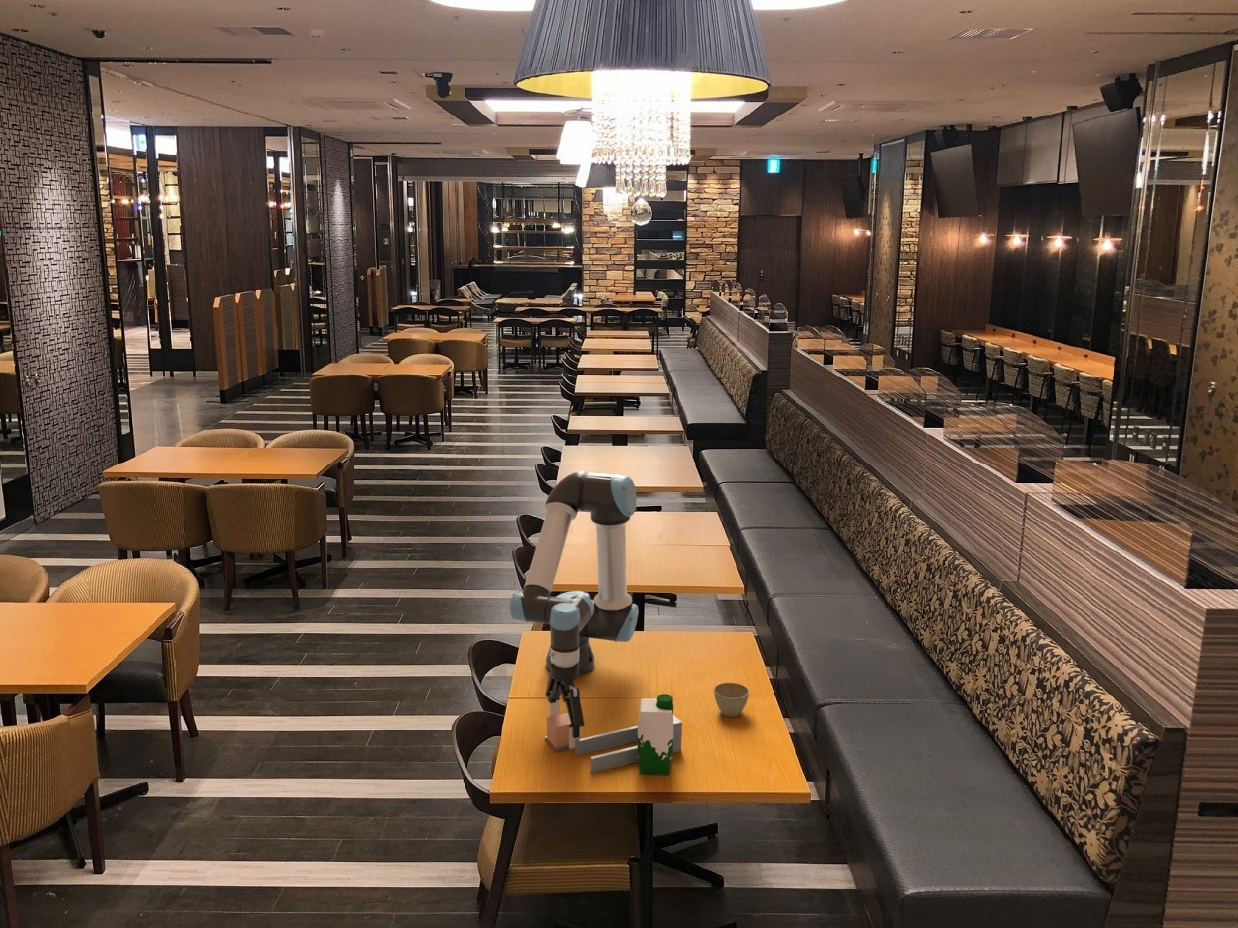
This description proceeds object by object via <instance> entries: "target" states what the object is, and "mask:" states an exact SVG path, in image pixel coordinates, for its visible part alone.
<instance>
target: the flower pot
mask: <svg viewBox="0 0 1238 928" xmlns="http://www.w3.org/2000/svg"><path fill="white" fill-rule="evenodd" d="M713 693H714V699H715V702H716V705H717V707H718V709H719V711H720V713H721V714H722V715H723V716H725V717H728V718H736V717H738V716H740V714H742V712H743V710H744V709H745V707H746V705H747V702H748V699H749V696H750V689H749V688H748V687H747V686H745V685H743V684H741V683H736V682H722V683H718V684H716V686H714V688H713Z"/></svg>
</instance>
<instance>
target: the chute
mask: <svg viewBox="0 0 1238 928" xmlns="http://www.w3.org/2000/svg"><path fill="white" fill-rule="evenodd" d="M673 725H674V726H673V751H672V754H674V753H678V752H682V737H683V736H682V735H683V734H682V731H683V722H682V721H681V720H680V719H679V718H678V717H676V716H675V715H674V714H673ZM637 741H638V725H634V726H629V727H625V728H622V729H617V730H613V731H609V732H604V733H599V734H596V735H595V734H594V735H592V736H587V737H583V738H580V739H577V740H575V748H574V754H575V756H581V755H585V754H588V753H592V752H597V751H601V750H606V749H610V748H614V747H619V746H622V745H626V744H631V743H634V742H636V743H637ZM634 763H639V760H638V749H637V745H634V746H631V747H626V748H622V749H619V750H618V749H617V750H614V751H610V752H606V753H602V754H597V755H593V756H590V773H591V774H594V773H597V772H602V771H606V770H610V769H614V768H619V767H622V766H625V765H629V764H634Z"/></svg>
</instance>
